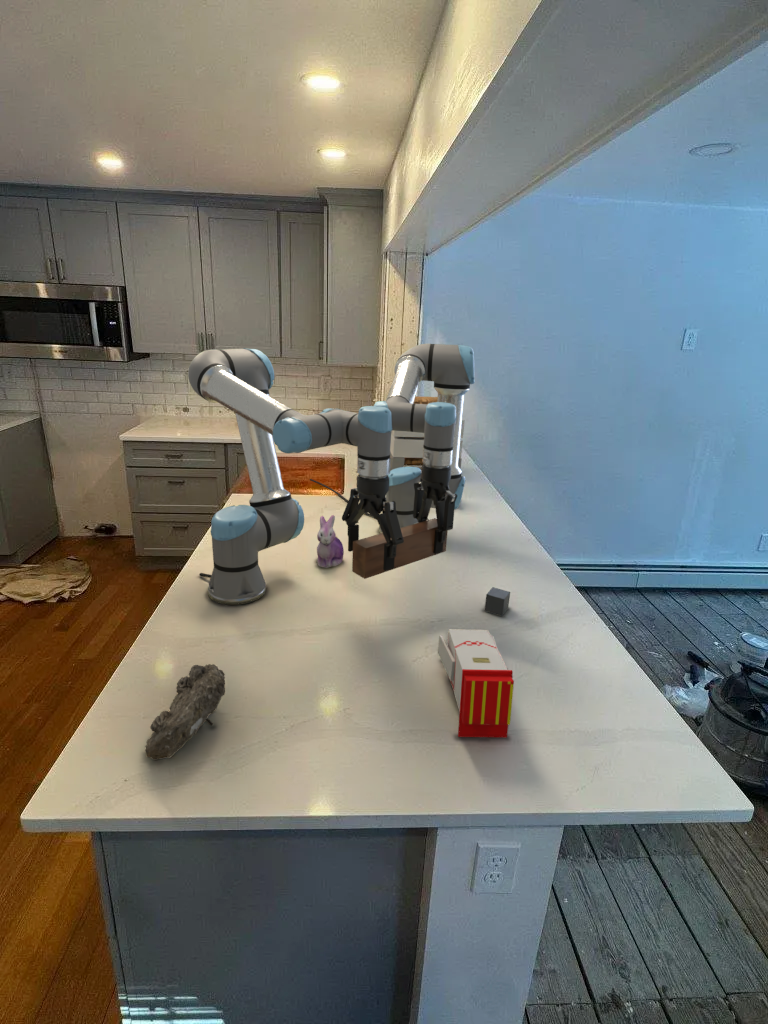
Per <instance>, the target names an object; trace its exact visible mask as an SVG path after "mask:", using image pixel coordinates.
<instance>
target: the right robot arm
mask: <svg viewBox="0 0 768 1024" xmlns="http://www.w3.org/2000/svg"><path fill="white" fill-rule="evenodd" d="M474 352H475V351H474V349H473V347H471V346H469V345H463V344H443V343H421V344H420V343H419V344H417V345H415V346H412V347H411V348H409V349H407V350H406V351H404V352H403V353H402V354H401V355H400V356H399V357H398V358H397V360H396V363H395V364H394V370H393V371H394V377H393V380H392V383H391V385H390V388H389V390H388V393H387V396H386V399H385V400H379V401H376V402H374V404H373V406H377V407H385V408H388V409H389V410H390V411H391V416H392V431H407V432H419V433H424V445H423V460H422V462H423V463H424V464H423V465H422V466H421V468H420V467H419V466H418V467H417V466H404V467H400V468H396V469H393V470H391V471H390V474H389V475H388V477H389V491H388V492H387V494H386V501H389V502H391V501H395V503H396V513H397V517H398V521H399V524H400V528H402V527H406V526H409V525H413V524H416V523H420V522H423V521H427V520H430V519H429V514H430V511H431V509H435V515H436V519H437V526H438V529H437V530H435V541H434V554H437V553H440V552H442V553H444V552H443V542H445V538H446V531H451V530H453V529H454V520H455V519H454V518H455V510H457V509H459V508H460V505H461V501H462V498H463V493H464V488H465V484H466V477H465V476H463V474H462V473H463V471H462V468H461V469H460V468H459V467H458V459H459V448H460V439H461V438H460V436H461V425H462V419H463V414H464V403H465V395H466V393H468V391H470V388H471V385H474V384H475V382H476V380H475V379H476V377H475V353H474ZM422 381H423V382H433V389H434V390H435V391H436V393H437V397H438V398H437V402H433V403H429V404H415V403H413V402H414V398H415V397H416V394H417V391H418V387H419V384H420V383H421V382H422ZM309 481H311V482H313V483H316V484H318V485H320V486H322V487H324V488H326V489H327V490H329V491H331V492H332V493H335V495H336V496H337V495H338V496H339V497H340V498H341V499H342V500H344V501H345V502H346V503H348V501H349V499H347V498H346V497H345V496H343V495H342V494H340V493H339V492H338V491H336V490H335V489H333V488H331V487H329V486H328V485H326V484H324V483H322V482H319V481H317V480H315V479H312V478H309ZM363 515H366V516H369V517H371V518H374V516H373V515H371V514H369V513H366V512H365V513H364V514H363ZM442 525H443V526H442ZM378 533H379V534H381V533H382V530H381V528H380V526H379V525H378ZM440 554H441V553H440ZM437 555H438V554H437Z"/></svg>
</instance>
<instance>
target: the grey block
mask: <svg viewBox="0 0 768 1024" xmlns="http://www.w3.org/2000/svg"><path fill="white" fill-rule="evenodd" d="M510 597H511V591H508V590H505V589H501V588H499V587H494V586H492V587H491V588H490V590H489V591H488V592H487V593H486V595H485V603H484V612H486V613H491V614H494V615H496V616H501V617H503V616H504V615H505V614H506V612H507V611H508V610H509V606H510Z"/></svg>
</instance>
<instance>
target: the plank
mask: <svg viewBox="0 0 768 1024" xmlns="http://www.w3.org/2000/svg"><path fill="white" fill-rule="evenodd" d="M442 526H443V525H442ZM437 529H438V526H437V517H436V518H434V517H433V518H430V519H429V520H428V519H427V521H423V522H420V523H416V524H413V525H409V526H406V527H402V528H401V532H402V536H403V539H404V542H403V543H401V544H398V545H397V548H396V557H395V560H394V568H393V569H390V570H387V571H385V570H383V566H384V544H387V542H386V540H385V537H384V535H383V533H381V534H380V533H378V534H373V535H370V536H367V537H363V538H360V539H359V540H356V541H353V551H352V563H351V565H352V566H351V572H352V573H354V574H356V575H358V576H359V577H361V578H362V579H364V580H366V579H369V578H371V577H372V578H373V577H374V576H378V575H380V574H381V575H382V574H384V573H386V572H389V571H392V570H396V569H398V568H401V567H405V566H407V565H410V564H412V563H413V564H414V563H416V562H418V561H419V562H420V561H422V560H425V559H428V558H431V557H433V556H436V555H439V554H442V553H445V552H447V545H448V531H449V530H448V531H446V538H445V542H443V552H440V553H437V554H434V541H435V530H437ZM390 539H391V538H390ZM391 540H392V539H391Z"/></svg>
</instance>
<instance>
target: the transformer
mask: <svg viewBox="0 0 768 1024" xmlns="http://www.w3.org/2000/svg"><path fill="white" fill-rule="evenodd" d="M437 398H438V396H415V398H414V402H413V403H415V404H429V403H433V402H437ZM464 429H465V419H464V418H462V425H461V436H460V448H459V459H458V467H459V468H460V469H461V470H462V461H463V460H462V453H463V442H464V441H463V440H462V439H463V438H464V431H465V430H464ZM423 445H424V433H419V432H407V431H392V433H391V445H390V471H391V470H393V469H396V468H400V467H405V466H406V467H417V466H418V467H422V465H423V464H424V463H423V462H422V460H423Z"/></svg>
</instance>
